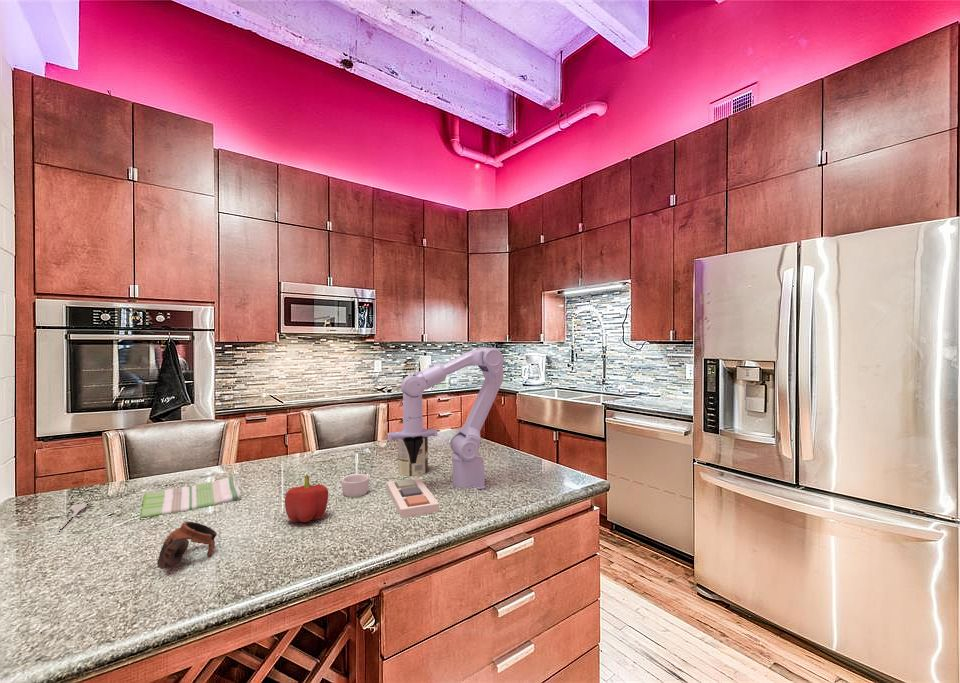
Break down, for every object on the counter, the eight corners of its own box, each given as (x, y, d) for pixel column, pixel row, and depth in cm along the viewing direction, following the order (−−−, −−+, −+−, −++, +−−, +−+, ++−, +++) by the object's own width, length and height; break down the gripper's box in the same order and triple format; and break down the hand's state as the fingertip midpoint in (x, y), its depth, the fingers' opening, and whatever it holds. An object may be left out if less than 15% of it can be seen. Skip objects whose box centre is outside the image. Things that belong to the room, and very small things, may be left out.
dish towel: (242, 502, 123) (242, 489, 123) (139, 522, 109) (139, 509, 109) (235, 485, 137) (235, 474, 137) (143, 501, 123) (143, 489, 123)
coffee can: (411, 467, 152) (411, 428, 151) (434, 472, 146) (434, 431, 146) (390, 476, 143) (390, 433, 143) (414, 481, 137) (414, 437, 137)
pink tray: (419, 487, 132) (419, 477, 132) (439, 515, 112) (439, 503, 112) (386, 491, 128) (386, 481, 128) (400, 521, 108) (400, 509, 108)
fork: (43, 547, 101) (42, 536, 101) (83, 505, 120) (83, 496, 120) (58, 545, 102) (58, 534, 102) (96, 503, 121) (95, 494, 121)
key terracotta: (423, 503, 117) (423, 494, 117) (427, 510, 112) (427, 501, 112) (405, 506, 115) (405, 497, 115) (409, 513, 110) (409, 503, 110)
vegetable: (285, 513, 113) (285, 476, 113) (327, 507, 117) (326, 471, 117) (284, 531, 103) (283, 489, 103) (329, 523, 107) (329, 483, 107)
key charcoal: (417, 494, 123) (417, 486, 123) (421, 501, 119) (421, 492, 119) (400, 497, 121) (400, 488, 121) (404, 503, 117) (404, 494, 117)
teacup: (370, 499, 123) (370, 480, 123) (342, 503, 120) (342, 484, 120) (366, 487, 132) (365, 470, 132) (339, 491, 129) (339, 473, 129)
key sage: (412, 486, 130) (411, 478, 130) (415, 492, 125) (415, 483, 125) (396, 489, 128) (396, 480, 128) (399, 494, 123) (399, 486, 123)
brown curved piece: (164, 554, 94) (187, 516, 96) (206, 570, 95) (227, 532, 97) (136, 568, 82) (163, 525, 85) (184, 586, 83) (209, 543, 86)
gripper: (432, 412, 132) (433, 456, 133) (385, 416, 127) (385, 461, 127) (439, 416, 126) (439, 462, 126) (389, 420, 120) (390, 468, 121)
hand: (413, 462), depth 126 cm, fingers closed
